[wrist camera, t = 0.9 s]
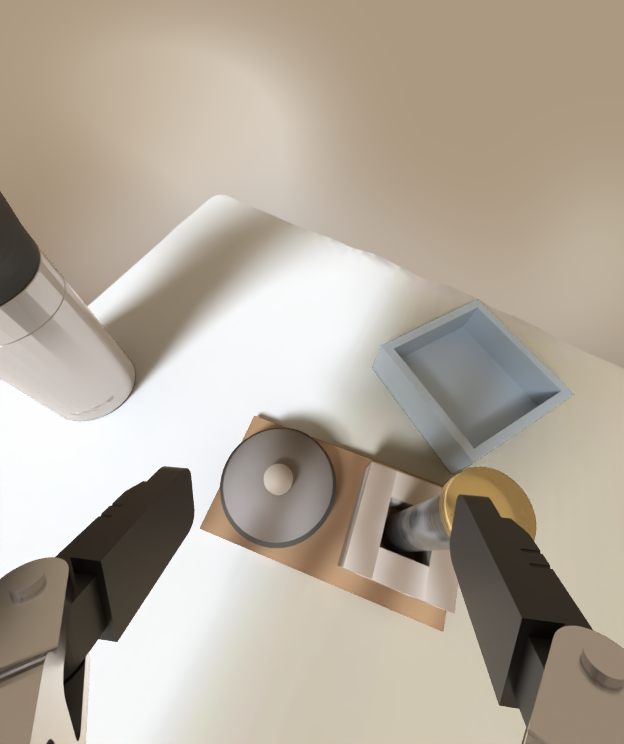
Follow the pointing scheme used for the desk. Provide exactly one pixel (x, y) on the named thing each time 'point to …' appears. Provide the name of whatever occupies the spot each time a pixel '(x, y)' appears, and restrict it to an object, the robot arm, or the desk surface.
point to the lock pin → (435, 516)
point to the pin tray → (467, 383)
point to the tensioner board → (330, 519)
